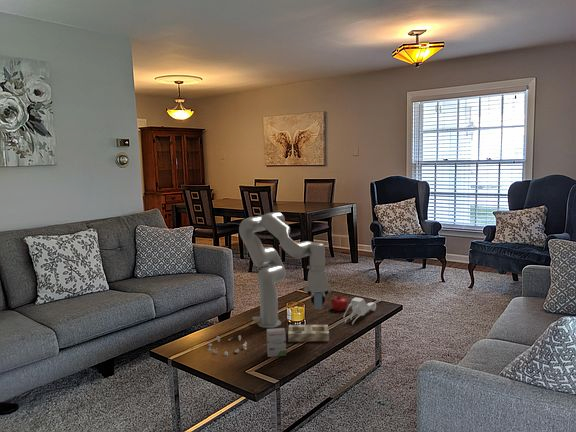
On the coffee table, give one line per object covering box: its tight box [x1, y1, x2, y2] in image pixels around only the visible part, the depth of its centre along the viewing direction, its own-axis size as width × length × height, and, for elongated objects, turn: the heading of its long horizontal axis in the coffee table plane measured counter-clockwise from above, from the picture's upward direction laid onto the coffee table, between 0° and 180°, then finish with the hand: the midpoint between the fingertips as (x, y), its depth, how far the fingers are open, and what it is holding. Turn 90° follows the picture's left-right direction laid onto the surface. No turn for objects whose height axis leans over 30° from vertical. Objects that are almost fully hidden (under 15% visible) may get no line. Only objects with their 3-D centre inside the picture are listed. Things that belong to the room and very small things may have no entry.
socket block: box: [287, 324, 330, 342], centre depth 231 cm, size 20×12×4 cm, turn 88°
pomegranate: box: [330, 294, 349, 312], centre depth 272 cm, size 10×10×9 cm
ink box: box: [266, 327, 287, 358], centre depth 211 cm, size 9×5×12 cm, turn 96°
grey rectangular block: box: [313, 291, 323, 310], centre depth 229 cm, size 4×4×8 cm
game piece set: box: [207, 334, 248, 356], centre depth 221 cm, size 19×20×4 cm
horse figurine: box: [342, 296, 377, 325], centre depth 258 cm, size 6×18×28 cm
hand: (318, 303), depth 230 cm, fingers closed on grey rectangular block, 4 cm apart
